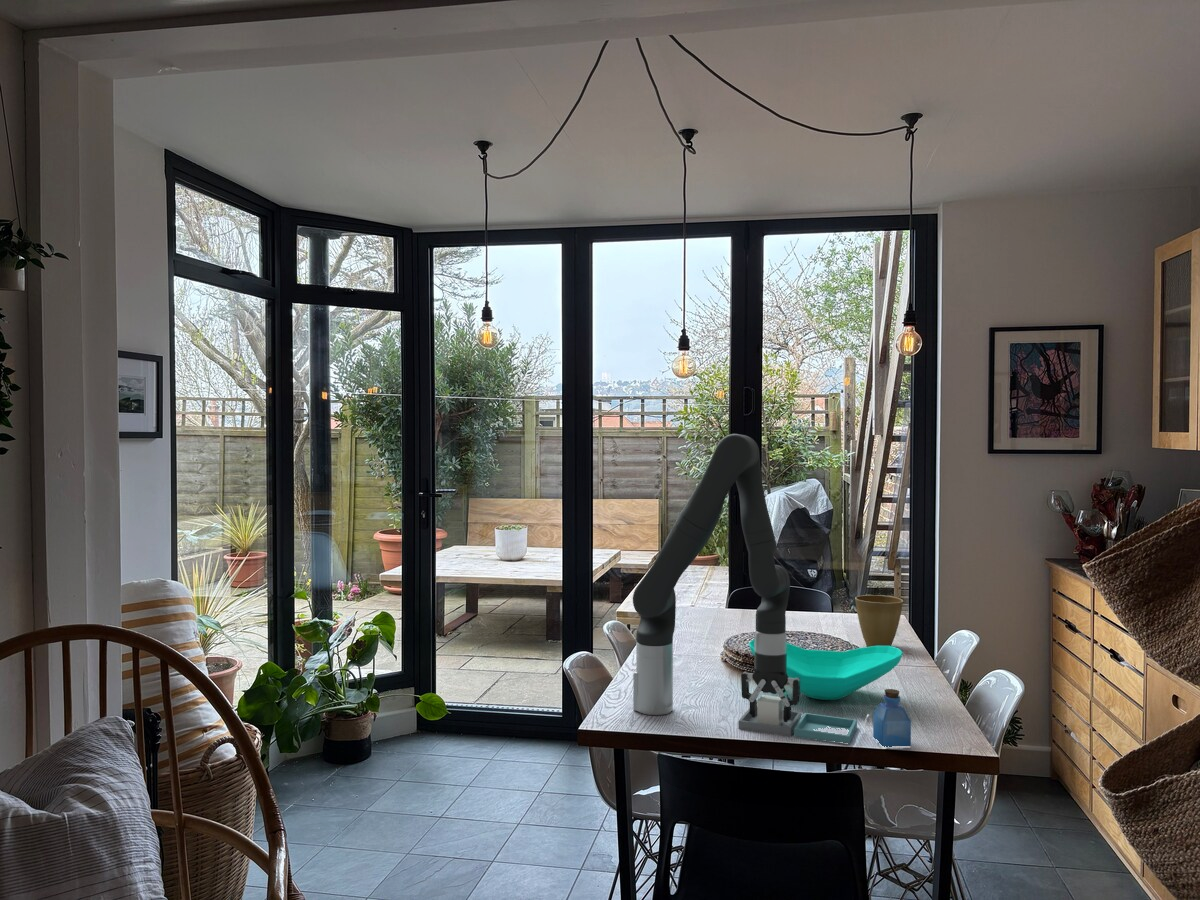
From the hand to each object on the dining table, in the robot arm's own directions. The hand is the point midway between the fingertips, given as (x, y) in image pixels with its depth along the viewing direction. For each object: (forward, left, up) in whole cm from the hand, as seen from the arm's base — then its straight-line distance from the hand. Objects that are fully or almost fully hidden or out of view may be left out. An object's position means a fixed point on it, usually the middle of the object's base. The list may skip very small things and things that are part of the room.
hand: (770, 718), depth 203 cm
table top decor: (+7, +29, -2) cm, 30 cm away
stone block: (0, 0, -1) cm, 1 cm away
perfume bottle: (+27, 0, -2) cm, 28 cm away
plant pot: (+14, +90, -2) cm, 91 cm away
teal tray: (+13, 0, -2) cm, 13 cm away
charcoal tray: (0, 0, -2) cm, 2 cm away
